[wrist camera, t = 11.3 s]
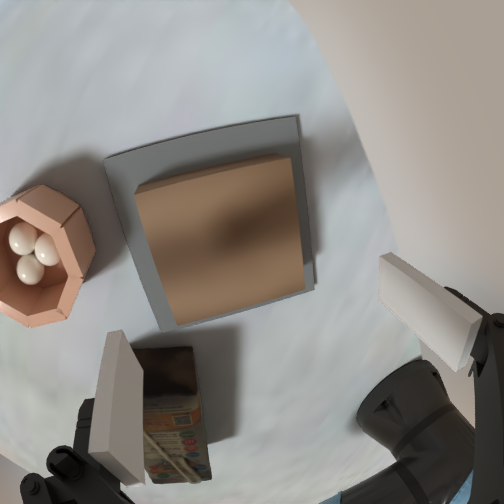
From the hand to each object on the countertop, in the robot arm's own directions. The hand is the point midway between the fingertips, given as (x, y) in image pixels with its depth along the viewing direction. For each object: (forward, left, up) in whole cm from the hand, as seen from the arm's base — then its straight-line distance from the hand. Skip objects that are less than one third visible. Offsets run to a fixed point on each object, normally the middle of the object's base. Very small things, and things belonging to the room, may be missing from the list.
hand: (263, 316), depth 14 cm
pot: (+3, +14, -11) cm, 18 cm away
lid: (+1, 0, -10) cm, 10 cm away
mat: (0, 0, -11) cm, 11 cm away
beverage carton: (-18, +11, -11) cm, 24 cm away
